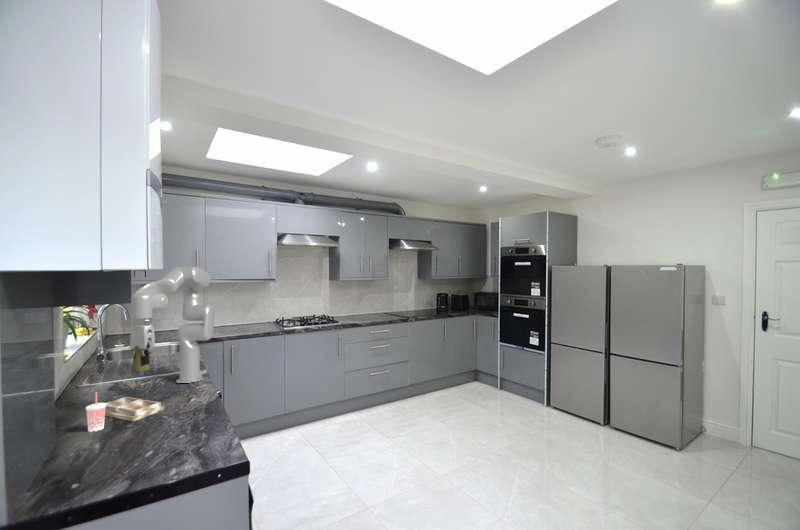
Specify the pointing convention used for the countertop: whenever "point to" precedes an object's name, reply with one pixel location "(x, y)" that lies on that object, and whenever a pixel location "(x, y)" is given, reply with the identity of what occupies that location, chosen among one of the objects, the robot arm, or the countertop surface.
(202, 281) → the robot arm
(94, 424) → the beverage cup
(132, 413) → the spice holder
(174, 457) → the countertop surface
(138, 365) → the cork
